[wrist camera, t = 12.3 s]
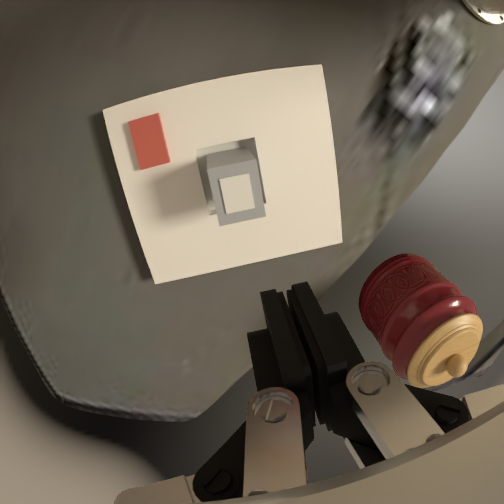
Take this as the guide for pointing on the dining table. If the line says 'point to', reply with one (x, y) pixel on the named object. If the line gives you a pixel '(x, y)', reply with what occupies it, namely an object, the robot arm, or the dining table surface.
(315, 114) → the switch plate
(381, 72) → the dining table surface
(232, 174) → the plug
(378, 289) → the canister
